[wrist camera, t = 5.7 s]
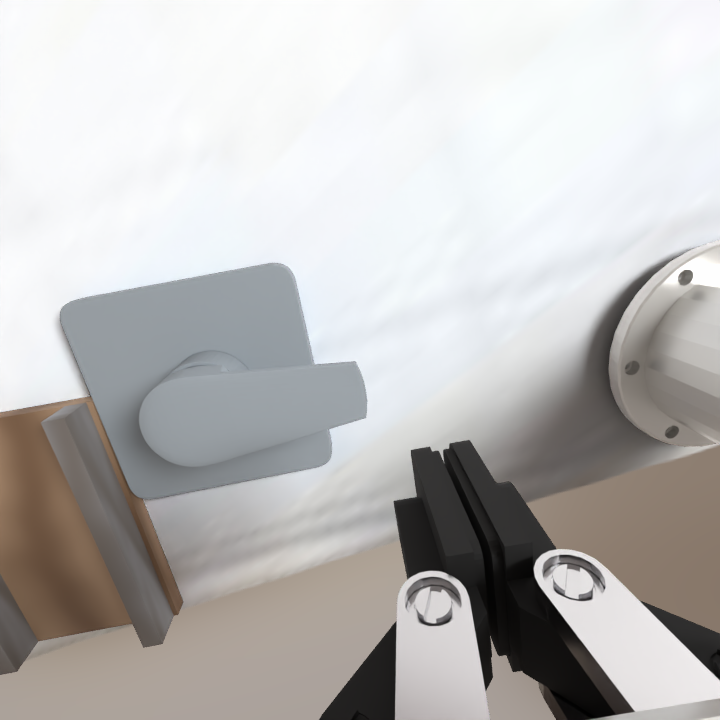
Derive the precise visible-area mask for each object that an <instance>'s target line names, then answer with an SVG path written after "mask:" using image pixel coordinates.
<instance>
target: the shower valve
mask: <svg viewBox="0 0 720 720" xmlns="http://www.w3.org/2000/svg"><path fill="white" fill-rule="evenodd" d="M60 321H61V325H62V327H63V330H64V332H65V335H66V337H67V339H68V342H69V344H70V347H71V349H72V351H73V354H74V356H75V359H76V361H77V363H78V366H79V368H80V371H81V373H82V375H83V378H84V380H85V383H86V385H87V387H88V390H89V392H90V395H91V397H92V399H93V402H94V404H95V407H96V409H97V411H98V414H99V416H100V419H101V421H102V423H103V426H104V428H105V431H106V433H107V435H108V438H109V440H110V443H111V445H112V447H113V450H114V452H115V455H116V457H117V459H118V462H119V464H120V467H121V469H122V471H123V474H124V476H125V479H126V481H127V483H128V486H129V488H130V490H131V491H132V492H133V493H134V494H135V495H136V496H137V497H139V498H142V499H157V498H162V497H167V496H172V495H177V494H182V493H188V492H193V491H198V490H203V489H208V488H213V487H219V486H224V485H229V484H234V483H239V482H244V481H249V480H255V479H260V478H265V477H270V476H275V475H280V474H285V473H291V472H296V471H301V470H306V469H311V468H316V467H320V466H322V465H324V464H326V463H327V462H328V461H329V460H330V458H331V454H332V442H331V437H330V432H329V429H331V428H334V427H337V426H341V425H344V424H347V423H351V422H354V421H357V420H360V419H364V418H366V413H367V396H366V389H365V385H364V381H363V378H362V375H361V372H360V370H359V368H358V366H357V364H356V362H341V363H329V364H316V365H314V360H313V356H312V352H311V347H310V343H309V338H308V334H307V329H306V325H305V320H304V316H303V311H302V307H301V302H300V298H299V293H298V289H297V284H296V280H295V277H294V275H293V273H292V271H291V270H290V269H289V268H288V267H287V266H285V265H283V264H279V263H268V264H263V265H258V266H252V267H247V268H241V269H236V270H231V271H225V272H220V273H214V274H209V275H204V276H198V277H193V278H187V279H182V280H177V281H171V282H166V283H161V284H155V285H150V286H144V287H139V288H134V289H128V290H123V291H117V292H112V293H107V294H101V295H96V296H90V297H85V298H81V299H78V300H74V301H71V302H69V303H67V304H66V305H65V306H63V308H62V309H61V312H60Z"/></svg>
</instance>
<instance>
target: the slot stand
mask: <svg viewBox="0 0 720 720" xmlns="http://www.w3.org/2000/svg"><path fill="white" fill-rule="evenodd" d="M182 604H183V600H182V598H181V595H180V593H179V590H178V588H177V585H176V583H175V580H174V578H173V575H172V573H171V570H170V567H169V565H168V562H167V560H166V557H165V555H164V552H163V550H162V547H161V545H160V542H159V540H158V537H157V535H156V532H155V530H154V527H153V524H152V522H151V519H150V517H149V514H148V512H147V509H146V507H145V504H144V502H143V499H142V498H139V497H137V496H136V495H135V494H134V493H133V492H132V491H131V490H130V488H129V486H128V483H127V481H126V479H125V476H124V474H123V471H122V469H121V467H120V464H119V462H118V459H117V457H116V455H115V452H114V450H113V447H112V445H111V443H110V440H109V438H108V435H107V433H106V431H105V428H104V426H103V423H102V421H101V419H100V416H99V414H98V411H97V409H96V407H95V404H94V402H93V399H92V397H91V396H90V397H85V398H79V399H74V400H68V401H62V402H57V403H51V404H46V405H40V406H34V407H29V408H23V409H17V410H12V411H6V412H1V413H0V675H2V674H7V673H12V672H17V671H18V669H19V668H20V666H21V665H22V664H23V662H24V661H25V659H26V658H27V656H28V655H29V654H30V652H31V651H32V649H33V648H34V647H35V645H36V644H37V642H38V641H42V640H47V639H52V638H58V637H63V636H68V635H73V634H79V633H84V632H89V631H95V630H100V629H105V628H110V627H116V626H121V625H126V624H133V626H134V628H135V630H136V632H137V634H138V637H139V639H140V641H141V643H142V645H143V647H149V646H154V645H159V644H163V641H164V639H165V636H166V633H167V631H168V628H169V626H170V624H171V621H172V618H173V616H174V615H178V614H179V611H180V609H181V606H182Z"/></svg>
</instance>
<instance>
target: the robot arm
mask: <svg viewBox="0 0 720 720" xmlns="http://www.w3.org/2000/svg"><path fill="white" fill-rule="evenodd" d="M609 378H610V386H611V390H612V393H613V396H614V398H615V401H616V404H617V405H618V407H619V408H620V410H621V411H622V413H623V414H624V416H625V417H626V418H627V419H628V420H629V421H630V422H631V423H633V424H634V425H635V426H636V427H637V428H639V429H640V430H642V431H643V432H645V433H647V434H648V435H650V436H651V437H653V438H655V439H657V440H659V441H662V442H664V443H667V444H672V445H678V446H684V447H693V446H707V445H712V444H719V445H720V240H718V241H713V242H710V243H707V244H704V245H702V246H699V247H696V248H694V249H691V250H689V251H688V252H686V253H684V254H682V255H681V256H679V257H677V258H675V259H674V260H672V261H670V262H669V263H668V264H667V265H666V266H664V267H663V268H662V269H661V270H659V271H658V272H657V273H656V274H654V275H653V276H652V277H651V278H650V279H649V280H648V282H647V283H646V284H645V285H644V286H643V287H642V288H641V289H640V290H639V291H638V292H637V294H636V295H635V297H634V298H633V300H632V301H631V303H630V304H629V306H628V307H627V309H626V310H625V312H624V314H623V316H622V318H621V320H620V323H619V325H618V327H617V329H616V331H615V335H614V338H613V342H612V346H611V350H610V358H609ZM443 453H444V462H443V460H442V458H441V455H440V453H439V451H433V452H432V450H431V448H430V447H426V448H420V449H414V450H411V458H412V465H413V472H414V479H415V486H416V493H417V497H415V498H409V499H403V500H397V501H394V507H395V513H396V519H397V525H398V531H399V537H400V543H401V548H402V553H403V559H404V564H405V569H406V573H407V579H408V580H407V581H406V582H405V583H404V584H403V585H402V587H401V589H400V591H399V594H398V599H397V621H396V622H395V623H394V625H393V626H392V627H391V628H390V630H389V631H388V632H387V633H386V635H385V636H384V637H383V638H382V640H381V641H380V642H379V644H378V645H377V646H376V647H375V649H374V650H373V651H372V652H371V654H370V655H369V656H368V657H367V659H366V660H365V661H364V662H363V664H362V665H361V666H360V667H359V669H358V670H357V671H356V673H355V674H354V675H353V676H352V678H351V679H350V680H349V681H348V683H347V684H346V685H345V686H344V688H343V689H342V690H341V692H340V693H339V694H338V695H337V697H336V698H335V699H334V700H333V702H332V703H331V704H330V705H329V707H328V708H327V709H326V710H325V712H324V713H323V714H322V716H321V718H320V719H319V720H490V714H489V709H488V703H487V697H486V690H487V688H488V686H489V684H490V682H491V680H492V678H493V674H492V663H491V657H492V651H491V639H492V641H493V644H494V647H495V649H496V651H497V654H498V655H499V656H503V655H506V656H507V658H508V660H509V663H510V666H511V668H512V671H513V672H517V671H523V673H525V674H526V675H528V676H530V677H531V678H533V679H535V680H536V681H538V682H539V688H540V690H541V693H542V695H543V698H544V699H545V701H546V703H547V705H548V706H549V708H550V710H551V712H552V713H553V715H554V717H555V718H556V720H720V634H719V633H717V632H715V631H712V630H710V629H707V628H705V627H703V626H700V625H697V624H695V623H693V622H691V621H688V620H686V619H683V618H681V617H678V616H676V615H674V614H671V613H669V612H666V611H664V610H662V609H659V608H657V607H654V606H652V605H649V604H647V603H645V602H642V601H640V600H638V599H637V598H636V597H635V596H634V595H633V594H632V593H631V592H630V591H629V590H628V589H627V588H626V587H625V586H624V585H623V584H622V583H621V582H620V581H619V580H618V579H617V578H616V577H615V576H614V575H613V574H612V573H611V572H610V571H609V570H608V569H607V568H606V567H605V566H604V565H602V564H601V563H600V562H598V561H597V560H596V559H595V558H593V557H591V556H589V555H587V554H585V553H582V552H578V551H574V550H568V549H556V547H555V546H554V545H553V543H552V541H551V540H550V538H549V537H548V536H547V534H546V533H545V531H544V530H543V528H542V527H541V526H540V524H539V522H538V521H537V519H536V518H535V517H534V515H533V513H532V512H531V510H530V509H529V508H528V506H527V505H526V503H525V502H524V500H523V499H522V497H521V496H520V494H519V493H518V491H517V490H516V488H515V487H514V485H513V484H512V483H511V482H503V483H497V484H496V482H495V481H494V479H493V477H492V476H491V474H490V472H489V471H488V469H487V468H486V466H485V464H484V463H483V461H482V459H481V458H480V456H479V455H478V453H477V451H476V450H475V448H474V446H473V445H472V443H471V442H470V440H467V441H461V442H455V443H450V445H449V449H445V450H444V451H443ZM444 463H445V464H444ZM490 636H491V639H490Z"/></svg>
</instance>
